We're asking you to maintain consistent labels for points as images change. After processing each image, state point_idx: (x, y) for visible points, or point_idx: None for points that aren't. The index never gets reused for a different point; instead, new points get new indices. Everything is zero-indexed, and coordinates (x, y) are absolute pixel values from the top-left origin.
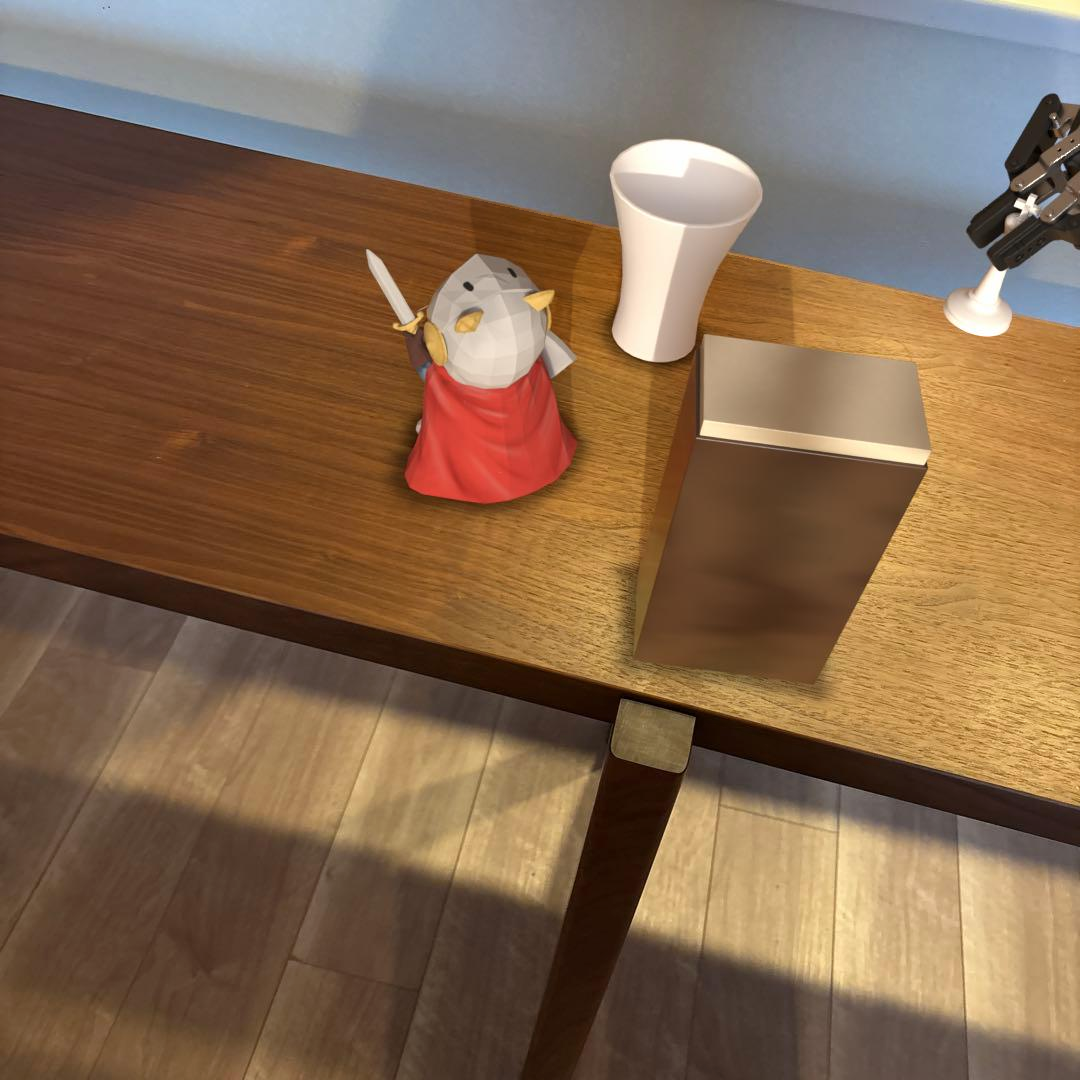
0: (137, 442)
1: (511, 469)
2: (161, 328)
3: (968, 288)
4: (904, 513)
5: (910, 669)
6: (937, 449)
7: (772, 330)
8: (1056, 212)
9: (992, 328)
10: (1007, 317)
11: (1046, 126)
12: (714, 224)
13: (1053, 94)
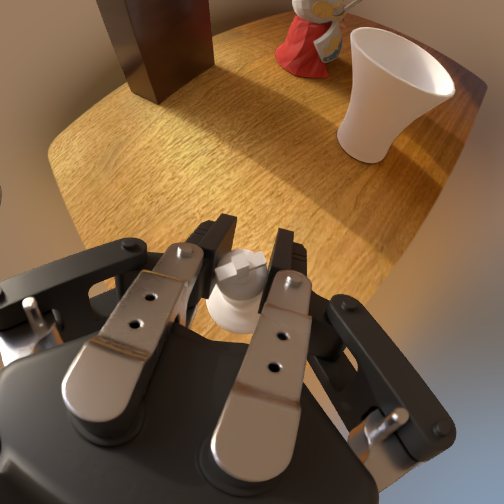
0: (343, 21)
1: (283, 45)
2: None
3: None
4: (98, 6)
5: (106, 123)
6: (183, 228)
7: (345, 207)
8: (172, 253)
9: None
10: (212, 306)
11: (386, 399)
12: (352, 35)
13: (449, 444)
